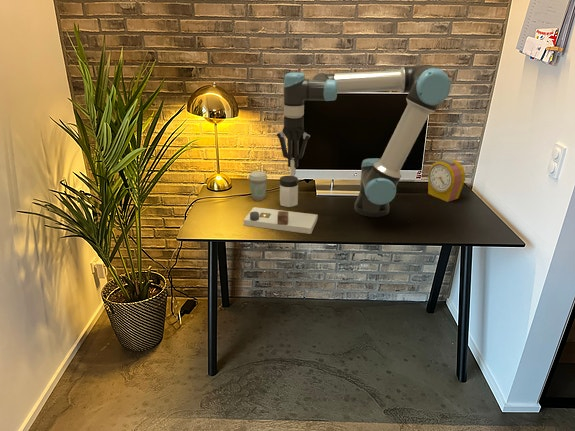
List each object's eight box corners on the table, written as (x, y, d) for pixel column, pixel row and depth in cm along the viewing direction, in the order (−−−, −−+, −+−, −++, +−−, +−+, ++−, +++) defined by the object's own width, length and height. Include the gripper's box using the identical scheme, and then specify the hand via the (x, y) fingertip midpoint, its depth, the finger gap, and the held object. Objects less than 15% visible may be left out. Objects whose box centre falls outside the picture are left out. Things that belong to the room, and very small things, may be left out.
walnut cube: (288, 220, 185) (288, 211, 183) (287, 224, 181) (287, 215, 179) (278, 220, 185) (278, 211, 183) (277, 224, 181) (277, 215, 180)
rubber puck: (260, 217, 187) (260, 212, 186) (257, 221, 184) (257, 215, 183) (251, 216, 188) (251, 211, 187) (248, 220, 185) (248, 214, 184)
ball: (260, 215, 191) (265, 220, 192) (258, 218, 188) (263, 223, 189) (265, 210, 190) (270, 216, 190) (263, 213, 187) (268, 219, 187)
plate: (317, 220, 191) (317, 214, 190) (310, 233, 180) (311, 228, 179) (253, 212, 197) (253, 207, 196) (243, 225, 186) (243, 219, 185)
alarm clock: (424, 192, 219) (429, 156, 211) (435, 189, 223) (441, 153, 215) (449, 203, 208) (456, 165, 200) (461, 199, 212) (468, 162, 204)
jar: (285, 208, 201) (285, 183, 196) (275, 202, 207) (275, 177, 202) (301, 204, 206) (302, 179, 200) (291, 198, 212) (292, 174, 207)
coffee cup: (250, 202, 207) (250, 177, 202) (247, 195, 214) (247, 171, 209) (269, 200, 209) (269, 176, 204) (265, 193, 216) (265, 170, 211)
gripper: (312, 114, 173) (310, 173, 183) (279, 112, 176) (279, 170, 186) (308, 119, 167) (306, 179, 177) (274, 116, 170) (274, 176, 180)
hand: (292, 174), depth 181 cm, fingers closed
